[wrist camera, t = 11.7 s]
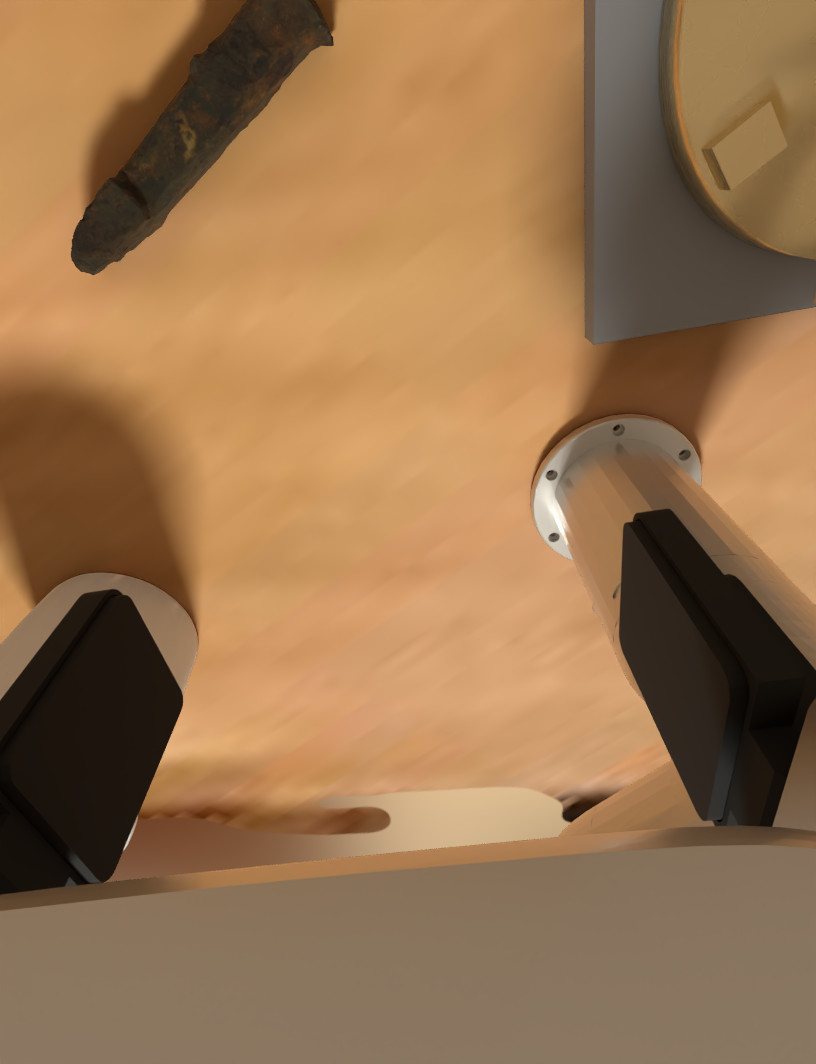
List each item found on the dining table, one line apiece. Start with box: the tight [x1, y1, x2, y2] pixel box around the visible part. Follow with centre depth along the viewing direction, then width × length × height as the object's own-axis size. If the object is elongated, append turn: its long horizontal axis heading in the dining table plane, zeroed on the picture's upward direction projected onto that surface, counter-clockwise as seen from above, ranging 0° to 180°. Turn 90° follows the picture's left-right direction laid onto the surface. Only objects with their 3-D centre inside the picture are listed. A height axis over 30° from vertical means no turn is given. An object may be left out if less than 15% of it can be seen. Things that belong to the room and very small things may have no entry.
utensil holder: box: [0, 572, 198, 849], centre depth 44 cm, size 15×15×18 cm
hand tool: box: [71, 0, 334, 275], centre depth 30 cm, size 19×4×5 cm, turn 128°
